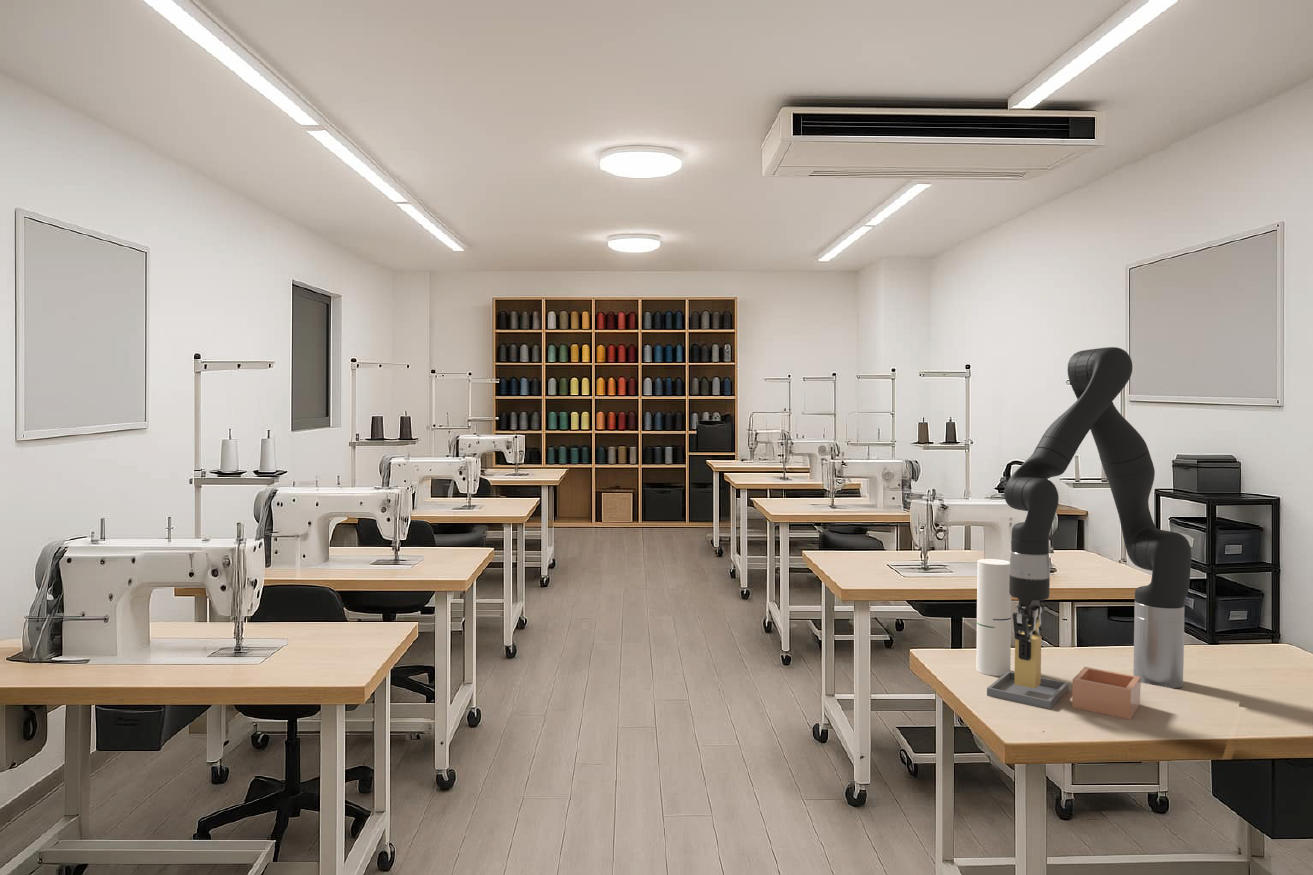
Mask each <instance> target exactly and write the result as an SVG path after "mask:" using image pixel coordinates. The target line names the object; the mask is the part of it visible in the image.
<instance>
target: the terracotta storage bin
mask: <svg viewBox="0 0 1313 875" xmlns="http://www.w3.org/2000/svg"><path fill="white" fill-rule="evenodd" d="M1141 684H1142V683H1141V677H1138V676H1133V675H1132V674H1127V673H1121V672H1115V671H1112V670H1111V671H1110V670H1105V669H1099V668H1093V667H1087V666H1084V667H1083V668H1082V669H1081V670H1080V671H1079V672H1078V673H1077V674H1076V675H1075V676H1074V677H1073V678H1072V685H1071V686H1072V690H1071V691H1072V694H1071V698H1072V700H1071V703H1072V704H1071V707H1072V708H1074V709H1078V710H1079V709H1080V710H1083V711H1089V712H1094V713H1099V714H1102V715H1103V714H1104V715H1107V716H1112V717H1117V718H1122V719H1127V720H1131V719H1132V718H1133V716H1134V715H1135V713H1136V711H1138V708H1139V707H1140V705H1141Z"/></svg>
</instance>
